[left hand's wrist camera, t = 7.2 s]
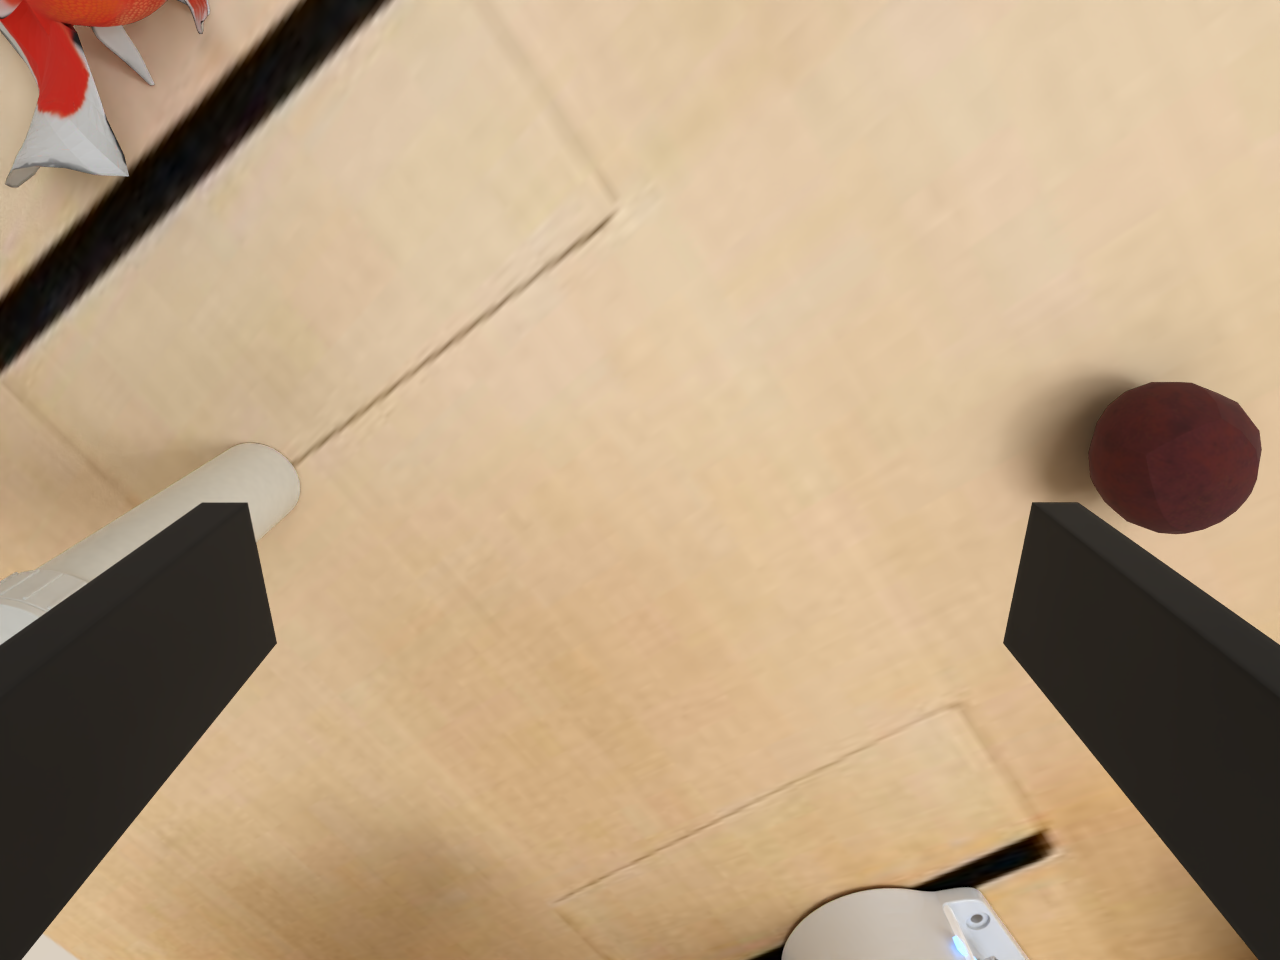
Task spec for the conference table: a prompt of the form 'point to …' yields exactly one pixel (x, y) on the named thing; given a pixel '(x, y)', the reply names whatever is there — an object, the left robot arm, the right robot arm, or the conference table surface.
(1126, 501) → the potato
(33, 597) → the lid
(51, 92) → the fish
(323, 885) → the conference table surface
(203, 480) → the white bottle
